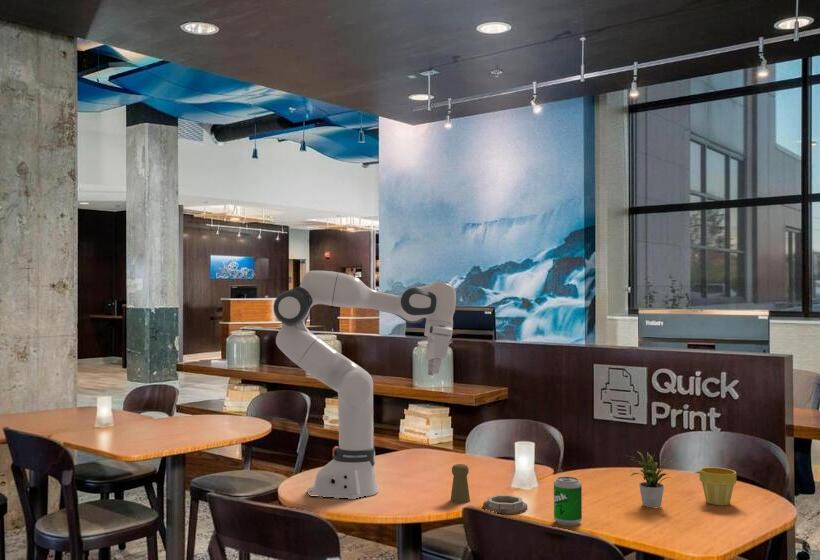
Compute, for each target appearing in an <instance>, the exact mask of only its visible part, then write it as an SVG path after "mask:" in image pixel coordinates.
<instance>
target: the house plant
mask: <svg viewBox="0 0 820 560" xmlns="http://www.w3.org/2000/svg"><path fill="white" fill-rule="evenodd" d="M637 453H638V454H639V455H640V457H641V461H639V460H638V459H637V458H635V457H634V456H631V455H630V457H631V460H633V461H634V462H637V463H638V465H639V466H641V469H639V471H640V472H641V473H642V474H641V473H639V472H635V471H633V470H631V469H630V471H631V472H633V473H632V474H630V477H632V476H634V475H641V476H642V477H643V482H639V485H638V486H639V491H640V492H639V493H640V496H641V502H642V506H643V505H644V506H647V507H646V508H648V507H659V508H661V507H662V502H663V495H664V487H665V485H664V484H662V483H661V482H662V481H663V480H665V479H668V478H669V479H672V477H671V476H668V477H664V476H666V475H669V474H668V473H665V472H663V468H662V467H663V466H664V464H665V462H666V460H667V458H665V459H664V460H663V461H662V463H661V464H660V466H659V468H658V462H654V457H655V453H656V452H654V454H653V455H651V454H649V452H647V453H646V459H645V456H644V455H643V453H641V452H639V451H637ZM625 456H626V457H628V455H627V454H626V455H625ZM632 458H634V459H635V460H634V459H632ZM673 461H674V460H671V462H673ZM668 463H670V461H667V464H668ZM661 472H663V473H661ZM663 477H664V478H663ZM662 478H663V479H662ZM644 506H643V507H644ZM660 506H661V507H660Z"/></svg>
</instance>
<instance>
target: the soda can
mask: <svg viewBox="0 0 820 560" xmlns="http://www.w3.org/2000/svg"><path fill="white" fill-rule="evenodd" d="M582 496H583V494H582V482H581V481H580V480H579V479H578V478H577V477H574V476H559V477H558V476H557V478H556V479H555V480H554V481H553V519H554V521H556V523H557V524H558V525H561V526H566V527H568V526H569V527H571V526H572V527H573V526H578V525H580V524H579V523H581V521H582V519H583V518H582V517H583V515H582V514H583V513H582V512H583V511H582V510H583V509H582V505H583V502H582V501H583V500H582Z"/></svg>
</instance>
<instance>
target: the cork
mask: <svg viewBox="0 0 820 560" xmlns="http://www.w3.org/2000/svg"><path fill="white" fill-rule="evenodd" d="M469 470H470V469H469V467H468V465H467V464H465V463H464V464H463V463H457V464H454V465H452V467H451V474H452V475H453V477H452V484H451V485H452V486H451V493H450V503H451V502H452V503H454V502H455V503H456V504H467V503H470V502H471V497H470V490H469V483H468V474H469ZM455 503H454V504H455Z"/></svg>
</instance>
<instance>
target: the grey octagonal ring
mask: <svg viewBox="0 0 820 560" xmlns="http://www.w3.org/2000/svg"><path fill="white" fill-rule="evenodd" d="M482 508H484V509H487V510H490V511H494V512H497V513H502V514H501V515H516V514H515V513H519V514H521V513H520V512H523V513H525V512H527V511H528V504H527V503H526V502H524V501H523V498H522V497H521V496H520V497H519V496H515V495H509V494H500V495H499V494H497V495H493V496H489V497H487V500H486V501H484V502H483V503H482ZM484 509H483V510H484ZM526 510H527V511H526ZM524 511H525V512H524Z"/></svg>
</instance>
